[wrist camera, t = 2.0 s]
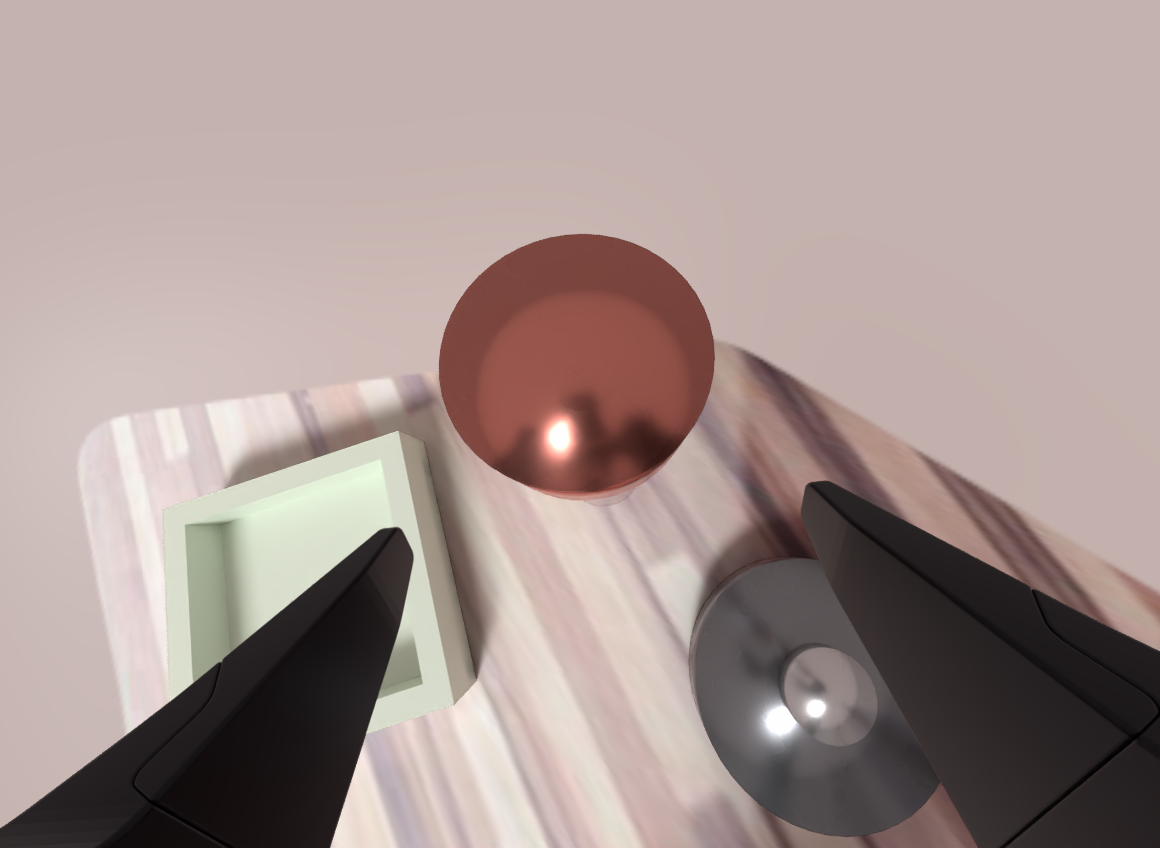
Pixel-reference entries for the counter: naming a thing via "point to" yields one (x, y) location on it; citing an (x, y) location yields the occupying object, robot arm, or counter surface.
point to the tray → (316, 566)
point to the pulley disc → (803, 704)
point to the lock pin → (577, 366)
